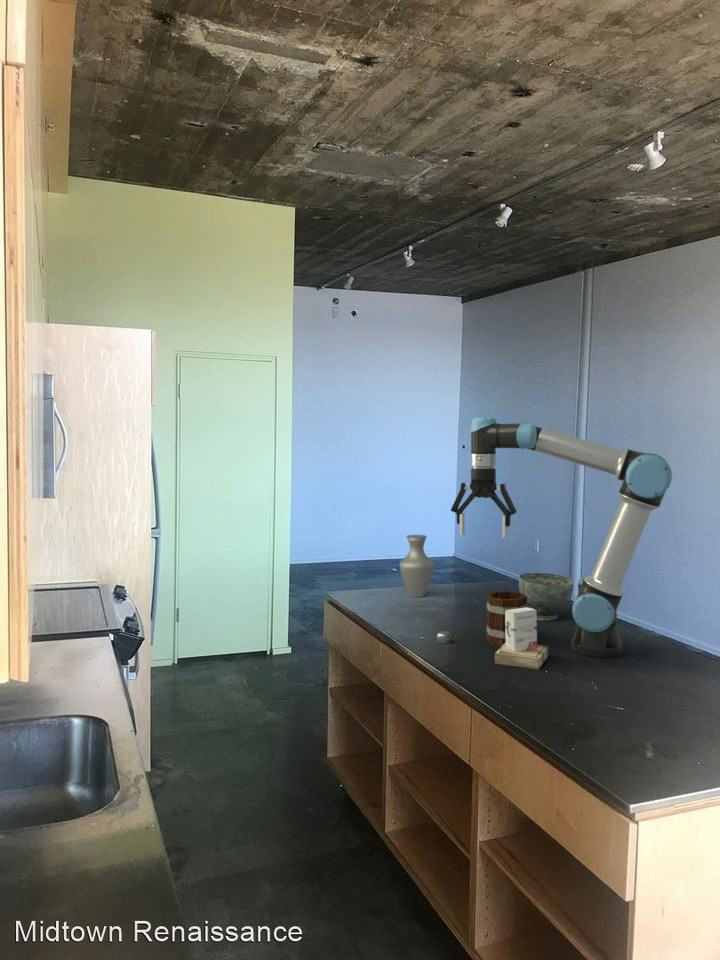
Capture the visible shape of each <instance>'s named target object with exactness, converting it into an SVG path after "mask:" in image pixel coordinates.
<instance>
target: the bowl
mask: <svg viewBox="0 0 720 960" xmlns="http://www.w3.org/2000/svg"><path fill="white" fill-rule="evenodd" d="M574 583H575V581H574V579H573V578H570V577H568V576H565V575H562V574H555V573H550V572H549V573H548V572H526V573H522V574H520V575H519V579H518V591H519V593H523V594H524V595H526V596H527V603H528V604H531V605H534V606H536V607H539V609H535V610H536V611H537V621H547V622H548V621H555V620H558V619H559V614H558V613H557V612H555V611H553V610H550V608H559V607H562V606H564V605H566V604H568V603H569V601H571V598H572V596H573V590H574Z"/></svg>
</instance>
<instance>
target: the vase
mask: <svg viewBox="0 0 720 960" xmlns="http://www.w3.org/2000/svg"><path fill="white" fill-rule="evenodd" d="M427 537H428V536H427V535H425V534H410V535H407V536H406V539H407V541H408V544H409V552H408V554H407V555H406V556H405V557H404V558H402V560H400V561H399V569H400V570H399V571H400V573H401V577H402V580H403V583H404V587H405V588H406V591H407V594H408V597H412V598H422V597H425V596H426V594H427V591H428V589H429V587H430V584H431V579H432V577H433V574H434V570H435V563H434V561H433V559H431V558H430V557H428V556H427V555H426V553H425V550H424V545H425V541H426V539H427Z"/></svg>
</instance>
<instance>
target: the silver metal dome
mask: <svg viewBox="0 0 720 960" xmlns="http://www.w3.org/2000/svg"><path fill="white" fill-rule="evenodd" d="M436 642H437V643H438V644H444V645H445V644H449V643H450V632H449V631H443V630H442V631H441V630H440V631H437V632H436Z"/></svg>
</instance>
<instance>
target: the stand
mask: <svg viewBox="0 0 720 960" xmlns="http://www.w3.org/2000/svg"><path fill="white" fill-rule="evenodd" d="M548 657H549V647H548V646H545V645H541V644H537V648H535V649H530V650H524V651H519V652H514V651H511V650H509V649H507V648H506V643H505V644H504V645H503V646H500V647H499V649H497V650H496V652H495V653H494V664H497V665H503V666H511V667H512V666H513V667H519V668H527V669H534V670H539V669H540V668H541V667H542V665H544V662H545V661H546V660H547V659H548Z"/></svg>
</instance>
